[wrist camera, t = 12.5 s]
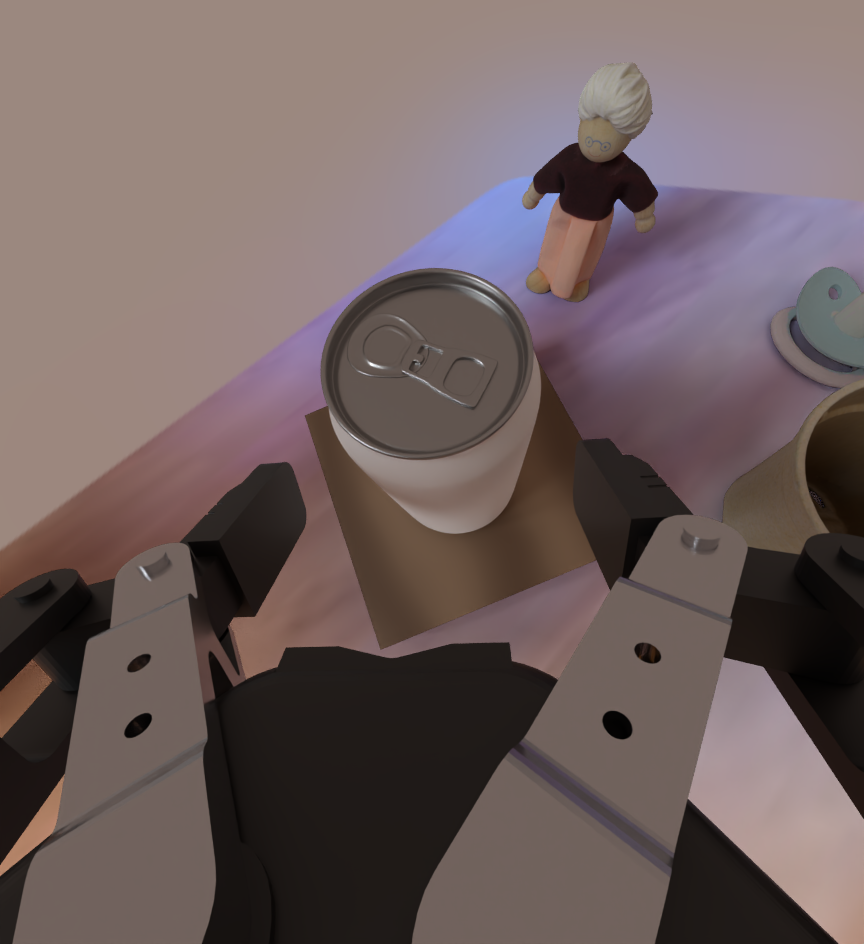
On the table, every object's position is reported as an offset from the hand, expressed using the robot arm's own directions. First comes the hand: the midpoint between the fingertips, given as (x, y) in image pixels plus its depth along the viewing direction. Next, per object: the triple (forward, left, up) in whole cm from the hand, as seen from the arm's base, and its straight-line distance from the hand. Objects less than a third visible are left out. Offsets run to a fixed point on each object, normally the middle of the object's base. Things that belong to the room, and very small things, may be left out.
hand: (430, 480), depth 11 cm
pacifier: (+26, +2, -15) cm, 30 cm away
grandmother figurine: (+14, +14, -14) cm, 24 cm away
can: (+1, +3, -10) cm, 11 cm away
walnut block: (+1, +3, -14) cm, 15 cm away
